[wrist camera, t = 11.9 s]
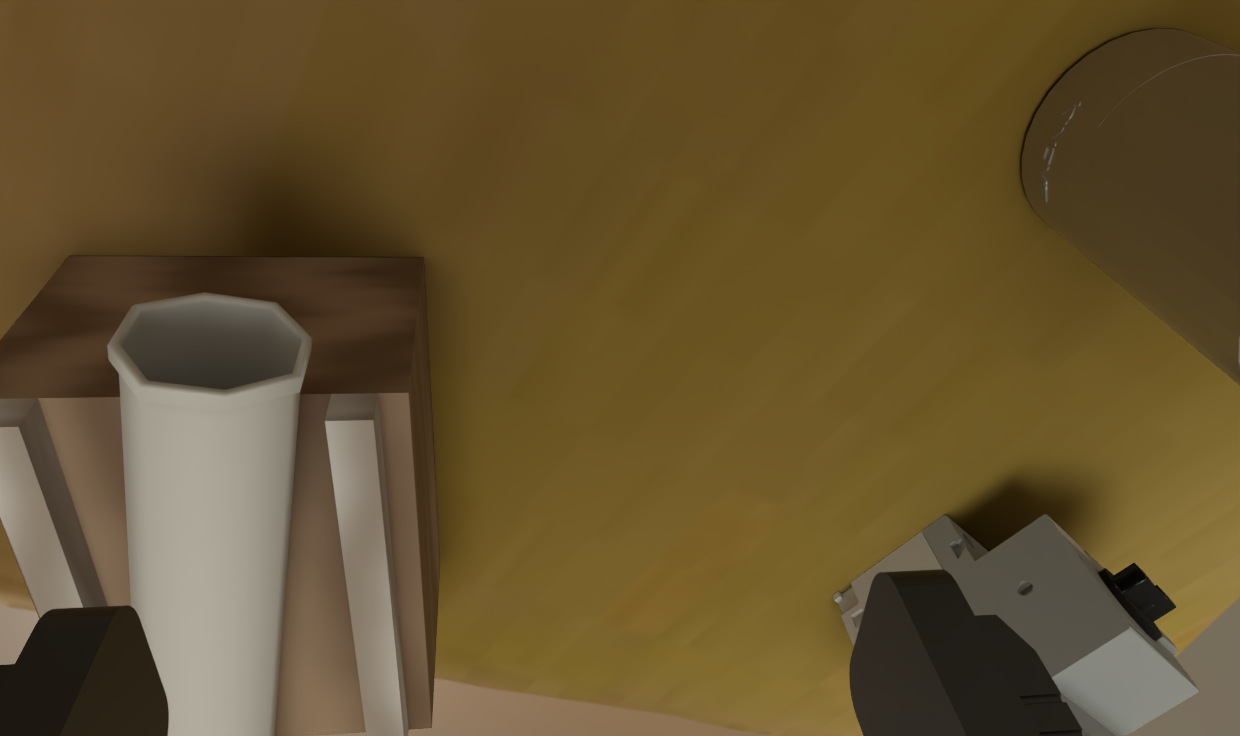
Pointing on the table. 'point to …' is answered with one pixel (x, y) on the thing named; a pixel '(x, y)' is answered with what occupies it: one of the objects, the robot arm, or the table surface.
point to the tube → (211, 498)
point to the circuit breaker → (1057, 617)
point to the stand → (323, 475)
